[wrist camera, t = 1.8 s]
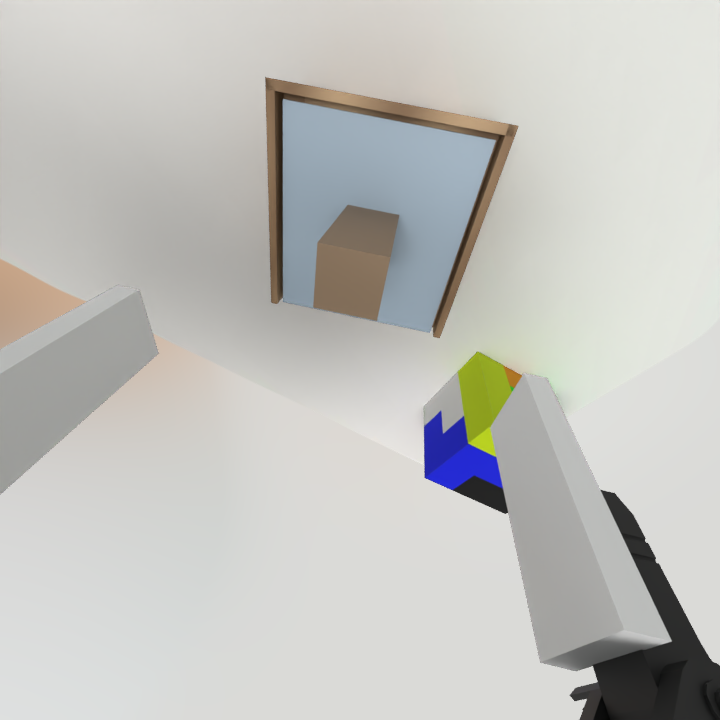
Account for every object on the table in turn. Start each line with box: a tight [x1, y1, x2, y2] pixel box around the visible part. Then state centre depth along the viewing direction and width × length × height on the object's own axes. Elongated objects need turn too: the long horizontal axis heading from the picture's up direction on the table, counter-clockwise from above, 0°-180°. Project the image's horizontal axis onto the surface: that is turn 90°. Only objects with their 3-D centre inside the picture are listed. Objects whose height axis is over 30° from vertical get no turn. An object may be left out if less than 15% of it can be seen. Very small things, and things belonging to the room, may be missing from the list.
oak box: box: [265, 77, 518, 338], centre depth 24 cm, size 14×14×6 cm
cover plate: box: [283, 99, 496, 333], centre depth 20 cm, size 12×13×9 cm
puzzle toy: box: [424, 352, 522, 514], centre depth 34 cm, size 10×10×10 cm
